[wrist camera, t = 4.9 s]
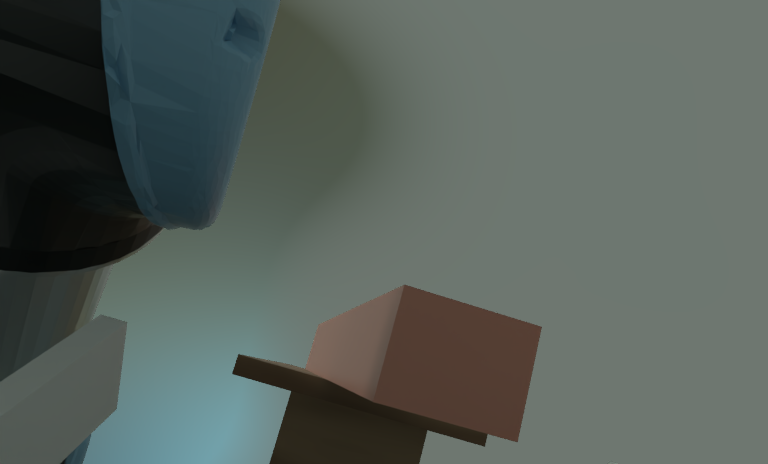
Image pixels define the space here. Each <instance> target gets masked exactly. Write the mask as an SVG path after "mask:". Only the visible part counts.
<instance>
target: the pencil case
mask: <svg viewBox="0 0 768 464" xmlns="http://www.w3.org/2000/svg"><path fill="white" fill-rule="evenodd" d="M541 328H542V327H540V326H537V325H534V324H530V323H527V322H524V321H521V320H517V319H514V318H511V317H508V316H505V315H501V314H498V313H495V312H492V311H488V310H485V309H482V308H479V307H475V306H472V305H469V304H466V303H462V302H459V301H456V300H453V299H449V298H446V297H443V296H439V295H436V294H433V293H430V292H426V291H423V290H420V289H417V288H414V287H410V286H407V285H403V286H401V287H398V288H396V289H394V290H392V291H390V292H388V293H386V294H383V295H381V296H379V297H377V298H375V299H373V300H370V301H368V302H366V303H364V304H362V305H360V306H357V307H355V308H353V309H351V310H349V311H347V312H345V313H343V314H340V315H338V316H336V317H334V318H332V319H330V320H327V321H325V322H323V323H321V324H319V325H318V328H317V332H316V335H315V338H314V341H313V345H312V348H311V351H310V355H309V358H308V361H307V365H306V368H305V369H306V370H308V371H310V372H312V373H314V374H316V375H318V376H321V377H323V378H325V379H327V380H329V381H331V382H333V383H335V384H337V385H339V386H341V387H343V388H345V389H347V390H349V391H351V392H354V393H356V394H358V395H360V396H362V397H364V398H366V399H368V400H370V401H372V402H375V403H379V404H382V405H386V406H389V407H393V408H397V409H400V410H404V411H407V412H411V413H414V414H418V415H422V416H425V417H429V418H432V419H436V420H440V421H443V422H447V423H450V424H454V425H457V426H461V427H465V428H468V429H472V430H475V431H479V432H483V433H486V434H490V435H493V436H497V437H500V438H504V439H508V440H511V441H515V442H518V437H519V432H520V428H521V423H522V418H523V413H524V409H525V404H526V399H527V395H528V389H529V385H530V380H531V375H532V371H533V366H534V361H535V357H536V352H537V347H538V342H539V338H540V332H541Z"/></svg>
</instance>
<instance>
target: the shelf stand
mask: <svg viewBox="0 0 768 464" xmlns="http://www.w3.org/2000/svg"><path fill="white" fill-rule="evenodd" d="M233 374H234V375H238V376H241V377H245V378H248V379H252V380H255V381H259V382H262V383H266V384H269V385H273V386H276V387H280V388H283V389H286V390H290V391H291V394H290V398H289V401H288V404H287V407H286V411H285V414H284V417H283V421H282V424H281V427H280V431H279V434H278V437H277V441H276V444H275V448H274V450H273V454H272V457H271V461H270V464H419V462H420V458H421V454H422V449H423V446H424V442H425V438H426V434H427V430H429V431H432V432H436V433H439V434H443V435H447V436H450V437H453V438H457V439H460V440H464V441H467V442H471V443H474V444H478V445H482V446H485V443H486V439H487V434H486V433H483V432H479V431H475V430H472V429H468V428H465V427H461V426H457V425H454V424H450V423H447V422H443V421H440V420H436V419H432V418H429V417H425V416H422V415H418V414H414V413H411V412H407V411H404V410H400V409H397V408H393V407H389V406H386V405H382V404H379V403H375V402H372V401H370V400H368V399H366V398H364V397H362V396H360V395H358V394H356V393H354V392H351V391H349V390H347V389H345V388H343V387H341V386H339V385H337V384H335V383H333V382H331V381H329V380H327V379H325V378H323V377H321V376H318V375H316V374H314V373H312V372H310V371H308V370H306V369H304V368H300V367H297V366H293V365H289V364H284V363H280V362H275V361H270V360H265V359H259V358H255V357H250V356H245V355H240V354H239V355H238V358H237V360H236V364H235V367H234V370H233Z"/></svg>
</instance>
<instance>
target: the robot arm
mask: <svg viewBox="0 0 768 464" xmlns="http://www.w3.org/2000/svg"><path fill="white" fill-rule="evenodd" d="M279 3H280V0H0V464H82V463H83V461H84V458H85V454H86V451H87V448H88V445H89V441H90V437H91V433H92V432H93V431H94V430H95V429H96V428H97V427H98V426H99V425H100V424H101V423H103V422H104V420H105V419H107V418H108V417H109V416H110V415H111V414H112V413H113V412H114V411H115V410H116V409H117V402H118V393H119V385H120V377H121V369H122V361H123V352H124V344H125V335H126V327H127V322H125V321H121V320H118V319H114V318H111V317H107V316H104V315H99V316H98V317H97V318H95V319H93V316H94V314H95V311H96V308H97V306H98V303H99V301H100V298H101V295H102V293H103V290H104V288H105V285H106V282H107V280H108V277H109V275H110V272H111V269H112V266H113V264H115V263H118V262H120V261H122V260H124V259H126V258H128V257H130V256H131V255H133V254H135V253H137V252H138V251H140V250H141V249H142V248H144V247H145V246H147V245H148V244H149V243H150V242H151V241H153V240H154V239H155V238H156V237H157V236H158V235H159V234H160V232H161V231H162V230H163V229H164V228H166V229H168V230H170V229H177V228H180V227H183V228H189V229H193V230H197V229H199V230H202V229H204V228H205V227H209V226H210V225H211V224H213V223H214V222H215V220H216V218H217V216H218V215H219V212H220V210H221V207H222V204H223V200H224V197H225V194H226V191H227V188H228V184H229V181H230V177H231V174H232V171H233V168H234V164H235V161H236V158H237V154H238V150H239V147H240V144H241V140H242V136H243V133H244V129H245V126H246V122H247V118H248V115H249V111H250V108H251V105H252V101H253V98H254V94H255V91H256V88H257V84H258V81H259V77H260V73H261V70H262V66H263V62H264V59H265V55H266V52H267V48H268V44H269V41H270V37H271V33H272V30H273V26H274V22H275V18H276V14H277V11H278V7H279ZM92 319H93V320H92ZM608 464H619V463H615V462H612V461H609V463H608Z"/></svg>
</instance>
